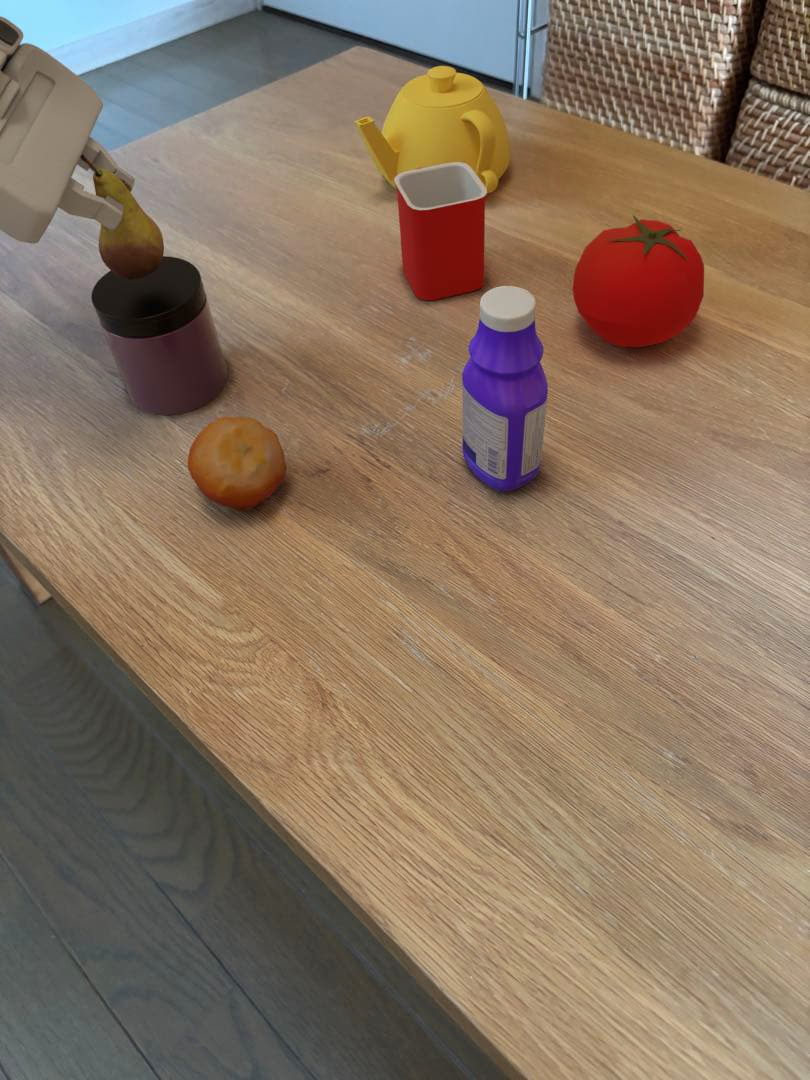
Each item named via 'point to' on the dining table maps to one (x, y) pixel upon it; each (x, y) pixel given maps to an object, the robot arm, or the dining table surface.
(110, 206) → the robot arm
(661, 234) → the tomato
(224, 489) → the fruit
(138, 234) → the fruit
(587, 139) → the dining table surface
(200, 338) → the jar
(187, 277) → the jar lid
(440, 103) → the teapot
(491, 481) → the bottle
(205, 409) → the dining table surface
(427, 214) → the mug
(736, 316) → the dining table surface
